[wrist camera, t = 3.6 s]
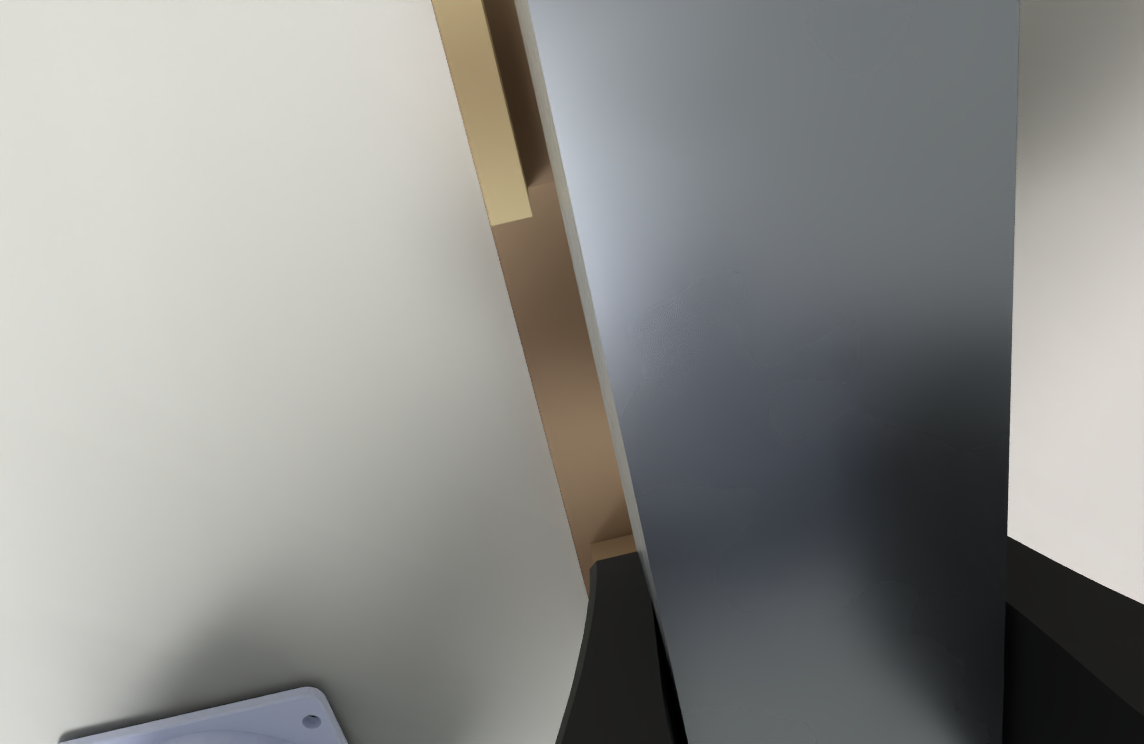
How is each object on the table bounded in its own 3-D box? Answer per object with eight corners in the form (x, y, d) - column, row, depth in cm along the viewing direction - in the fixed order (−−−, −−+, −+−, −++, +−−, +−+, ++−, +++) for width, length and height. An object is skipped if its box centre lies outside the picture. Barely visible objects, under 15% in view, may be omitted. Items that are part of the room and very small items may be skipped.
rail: (894, 922, 15) (992, 1143, 12) (728, 960, 15) (784, 1190, 12) (816, -235, 7) (1028, -401, 4) (479, -154, 7) (468, -268, 4)
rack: (804, 593, 23) (911, 795, 17) (601, 640, 23) (637, 857, 17) (723, -122, 15) (865, -206, 9) (421, -49, 15) (374, -89, 9)
